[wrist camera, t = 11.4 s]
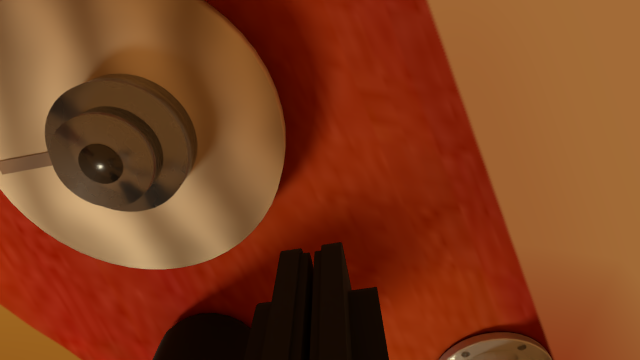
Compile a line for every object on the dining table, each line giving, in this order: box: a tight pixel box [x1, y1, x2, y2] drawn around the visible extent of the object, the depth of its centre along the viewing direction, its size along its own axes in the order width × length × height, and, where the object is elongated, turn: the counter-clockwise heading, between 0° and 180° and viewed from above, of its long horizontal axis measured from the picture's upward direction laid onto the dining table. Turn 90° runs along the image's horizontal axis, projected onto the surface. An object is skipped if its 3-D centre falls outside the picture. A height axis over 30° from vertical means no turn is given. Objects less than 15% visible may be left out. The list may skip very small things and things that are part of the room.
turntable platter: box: [0, 0, 286, 269], centre depth 29 cm, size 22×22×2 cm
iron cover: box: [45, 73, 198, 212], centre depth 26 cm, size 9×9×5 cm
